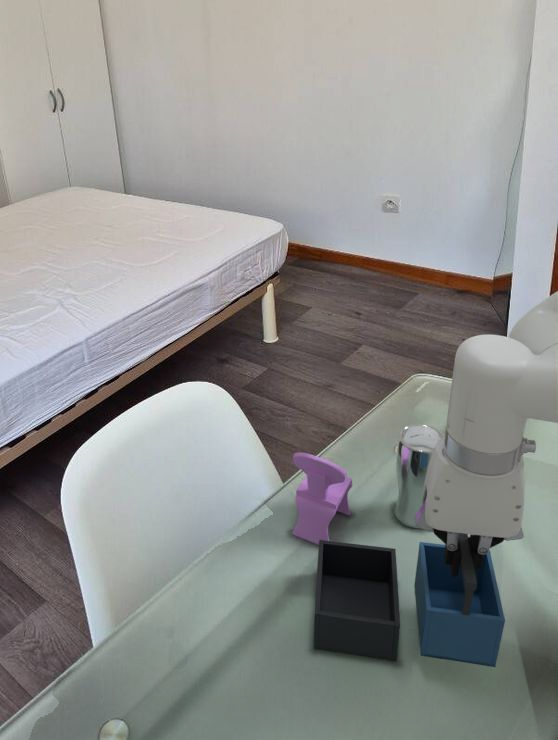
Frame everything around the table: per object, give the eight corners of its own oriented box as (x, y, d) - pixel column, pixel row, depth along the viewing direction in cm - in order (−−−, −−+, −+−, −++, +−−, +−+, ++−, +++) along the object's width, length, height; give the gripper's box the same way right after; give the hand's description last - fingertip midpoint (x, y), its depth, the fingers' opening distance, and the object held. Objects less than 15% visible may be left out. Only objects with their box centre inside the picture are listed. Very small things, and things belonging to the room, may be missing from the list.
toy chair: (358, 514, 108) (362, 438, 102) (336, 552, 102) (339, 473, 95) (309, 496, 113) (310, 421, 106) (285, 531, 106) (285, 454, 100)
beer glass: (391, 527, 105) (398, 450, 99) (390, 496, 111) (396, 421, 105) (439, 533, 104) (450, 455, 97) (436, 501, 110) (445, 425, 103)
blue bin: (481, 594, 90) (495, 518, 84) (495, 667, 81) (512, 588, 75) (414, 585, 92) (423, 510, 86) (420, 655, 83) (431, 577, 77)
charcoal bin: (392, 583, 96) (395, 548, 93) (396, 662, 86) (400, 626, 83) (318, 573, 99) (319, 539, 96) (313, 649, 88) (314, 613, 85)
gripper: (551, 430, 75) (525, 552, 83) (403, 418, 79) (392, 536, 87) (569, 476, 69) (539, 604, 77) (408, 461, 72) (395, 584, 80)
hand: (461, 567), depth 82 cm, fingers closed on blue bin, 1 cm apart
